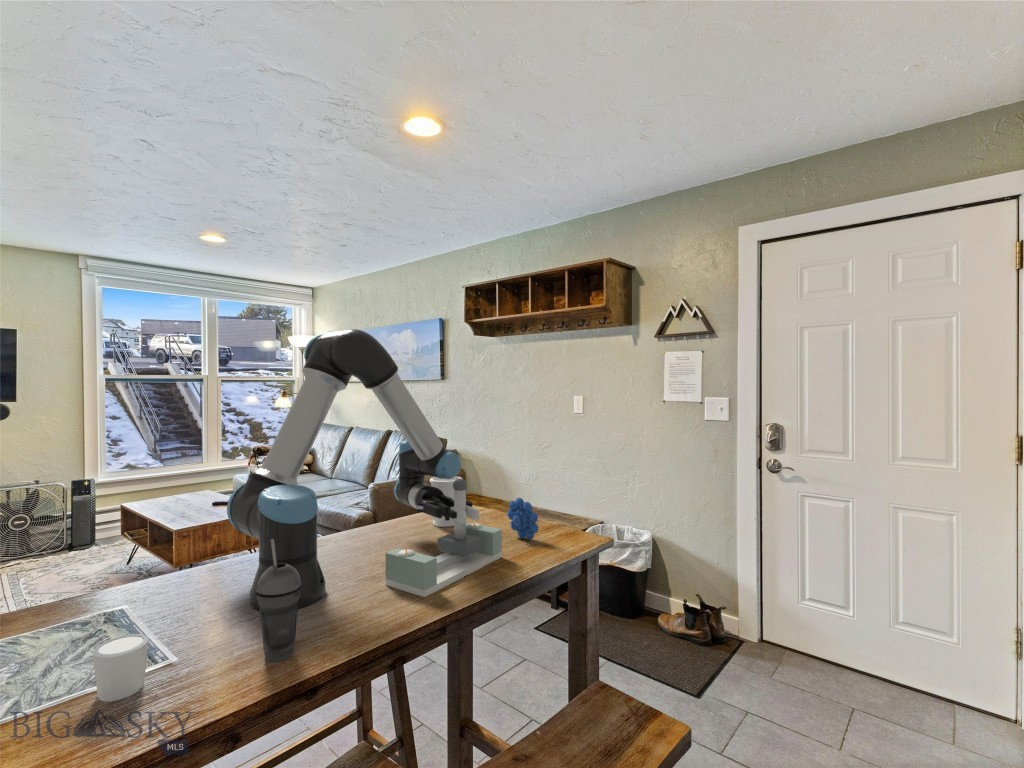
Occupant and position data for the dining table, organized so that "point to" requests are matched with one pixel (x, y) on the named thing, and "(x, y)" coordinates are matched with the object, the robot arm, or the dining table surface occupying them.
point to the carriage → (460, 528)
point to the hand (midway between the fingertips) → (471, 516)
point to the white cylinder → (120, 666)
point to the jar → (448, 491)
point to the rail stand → (440, 564)
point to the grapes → (523, 518)
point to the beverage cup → (278, 608)
